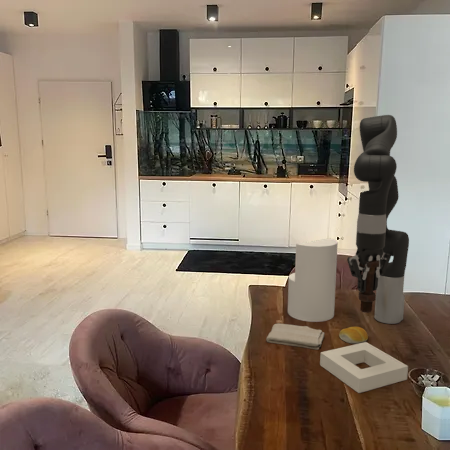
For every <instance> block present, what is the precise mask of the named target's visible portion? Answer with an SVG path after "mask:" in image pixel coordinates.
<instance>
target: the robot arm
mask: <svg viewBox="0 0 450 450" xmlns="http://www.w3.org/2000/svg"><path fill="white" fill-rule="evenodd" d="M359 136H360V141H361V145H362V150H363V151H362V153H360V155H358V156H357V158H356V160H355V162H354V165H353V175H354V176H355V178H356V179H357V180H358V181H360V182H364V183H365V182H366V183H367V185H368V190H363V191H362V192H361V193H360V194H359V202H358V203H359V205H358V215H357V219H356V220H357V221H356V234H355V235H356V237H355V246H356V248H357V249H356V252H355V255H353V256H352V257H351V256H348V257H347V260H346V262H347V265H348V267H349V271H350V274H351V276H352V277H354V278H356V279H357V290H358V292H362V293H364V292H366V276H367V272H369V269H370V268H368V262H372V261H373V260H375V261H379V267H375V274H374V289H373V292H375V291H376V292H375V295H376V298H375V301H374V302H375V303H374V319H375V320H376V321H378V322H380V323H383V324H389V325H391V324H392V325H393V324H395V325H396V324H400V323H401V321H404V311H405V299H406V298H405V297H406V295H405V293H404V286H405V272H406V268H407V261H408V253H409V248H410V247H409V245H410V237H409V235H408V233H407V232H405V231H401V230H395V229H389V227H388V218H389V216H390V214H391V213H392V211H393V210H394V208H395V206H396V205H397V203H398V201H399V197H400V195H399V188H398V187H399V186H398V179H397V177H396V176H395V174H396V172H397V161H396V159H395V157H393V156H391V150H392V148H393V147H394V145H395V143H396V140H397V138H398V126H397V122H396V118H395V117H394V116H393V115H391V114H383V115H378V116H377V115H376V116H375V115H374V116H371V117H364V118H362V119H361V120H360V121H359ZM392 257H393V259H392V261H391V262H390V260H391V258H392ZM365 262H366V265H365ZM360 263H361V264H362V265H365V268H363V267H362V266H360ZM362 271H363V272H362Z"/></svg>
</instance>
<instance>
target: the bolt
mask: <svg viewBox="0 0 450 450" xmlns="http://www.w3.org/2000/svg"><path fill="white" fill-rule="evenodd" d="M365 265H366V262H365ZM365 265H362V264H361V263H360V266H362V267H363V268H365ZM375 267H379V261H375V260H373V261H372V262H368V268H370V269H369V272H367V276H366V292H364V293H362V292H360V291H358V300H360V307H359V308H360V312H362V313H365V314H368V313H372V311H373V303H374V302H376V292H375V291H373V289H374V274H375ZM362 273H363V271H362Z"/></svg>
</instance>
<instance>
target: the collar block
mask: <svg viewBox="0 0 450 450" xmlns="http://www.w3.org/2000/svg"><path fill="white" fill-rule="evenodd" d="M319 357H320V358H319V359H320V361H319V365H320V367H322V368H324V369H325V370H326V371H327V372H329V373H331V374H332V375H333V376H334V377H336V378H337V379H339V381H341V382H343V383H344V384H345V385H346V386H348V387H349V388H351V389H352V390H354V391H355V392H357V394H361V393H364V392H368V391H372V390H375V389H378V388H382V387H385V386H390V385H392V384H395V383H398V382H399V383H400V382H403V381H407V380H408V372H409V365H407V364H405V363H403V362H402V361H400V360H398V359H396V358H395V357H393V356H391V355H390V354H388V353H386V352H384V351H382V350H381V349H379V348H377V347H376V346H374V345H372V344H370V343H368V342H367V341H364V342H361V343H357V344H352V345H347V346H343V347H338V348H333V349H329V350H325V351H321V352H320V356H319ZM361 363H364V364H366V365H368V366H369V367H365V368H360V367H359V366H357V365H358V364H361Z"/></svg>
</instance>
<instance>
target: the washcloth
mask: <svg viewBox="0 0 450 450" xmlns="http://www.w3.org/2000/svg"><path fill="white" fill-rule="evenodd" d="M324 338H325V332H323V331H322V329H315V328H312V327H310V326H307V325H304V326H302V325H296V324H295V325H294V324H287V323H275V324H273V325H272V327H271V331H270V332H269V333H268V335H267V336H266V343H271V344H277V345H285V346H292V347H297V348H298V347H299V348H304V349H311V350H316V351H317V350H319V349H320V348H321V346H322V344H323V343H322V342H323V340H324Z"/></svg>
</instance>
